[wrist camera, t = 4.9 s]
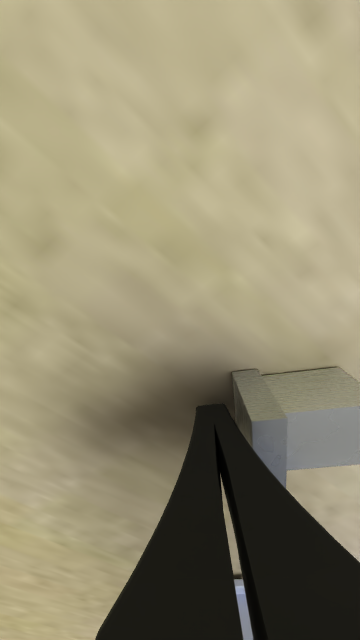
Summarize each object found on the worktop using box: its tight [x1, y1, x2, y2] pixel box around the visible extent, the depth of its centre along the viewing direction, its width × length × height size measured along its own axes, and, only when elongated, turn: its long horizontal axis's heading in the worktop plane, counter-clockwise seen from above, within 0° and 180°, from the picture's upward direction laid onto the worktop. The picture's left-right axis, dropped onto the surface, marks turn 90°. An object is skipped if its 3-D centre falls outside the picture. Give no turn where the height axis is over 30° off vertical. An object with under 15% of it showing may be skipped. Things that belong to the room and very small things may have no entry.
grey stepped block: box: [232, 367, 360, 488], centre depth 9 cm, size 5×4×3 cm
